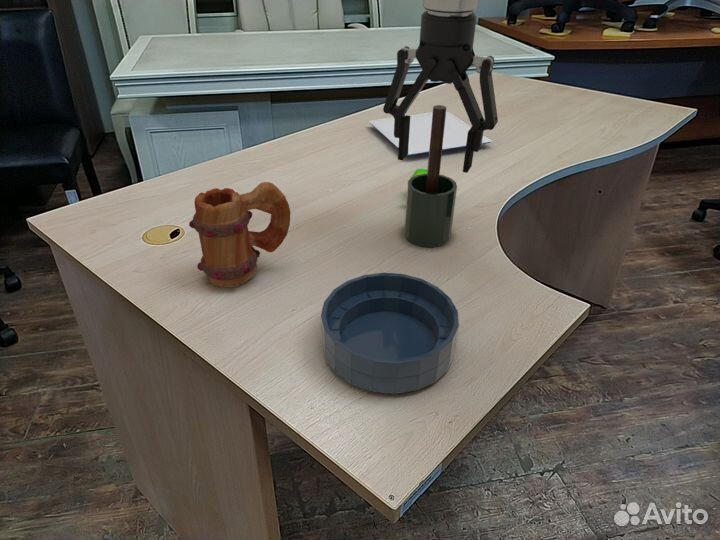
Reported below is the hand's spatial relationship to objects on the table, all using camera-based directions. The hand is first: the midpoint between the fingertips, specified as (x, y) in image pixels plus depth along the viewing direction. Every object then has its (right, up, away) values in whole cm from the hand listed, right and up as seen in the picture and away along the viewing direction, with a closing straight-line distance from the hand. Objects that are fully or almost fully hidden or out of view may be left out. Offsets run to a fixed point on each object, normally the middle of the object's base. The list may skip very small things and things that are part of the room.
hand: (434, 162), depth 85 cm
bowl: (-8, -28, -15) cm, 32 cm away
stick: (0, -10, +8) cm, 13 cm away
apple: (0, -4, +19) cm, 19 cm away
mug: (-30, -18, -2) cm, 35 cm away
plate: (+5, +15, +45) cm, 47 cm away
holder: (0, -11, +8) cm, 14 cm away
